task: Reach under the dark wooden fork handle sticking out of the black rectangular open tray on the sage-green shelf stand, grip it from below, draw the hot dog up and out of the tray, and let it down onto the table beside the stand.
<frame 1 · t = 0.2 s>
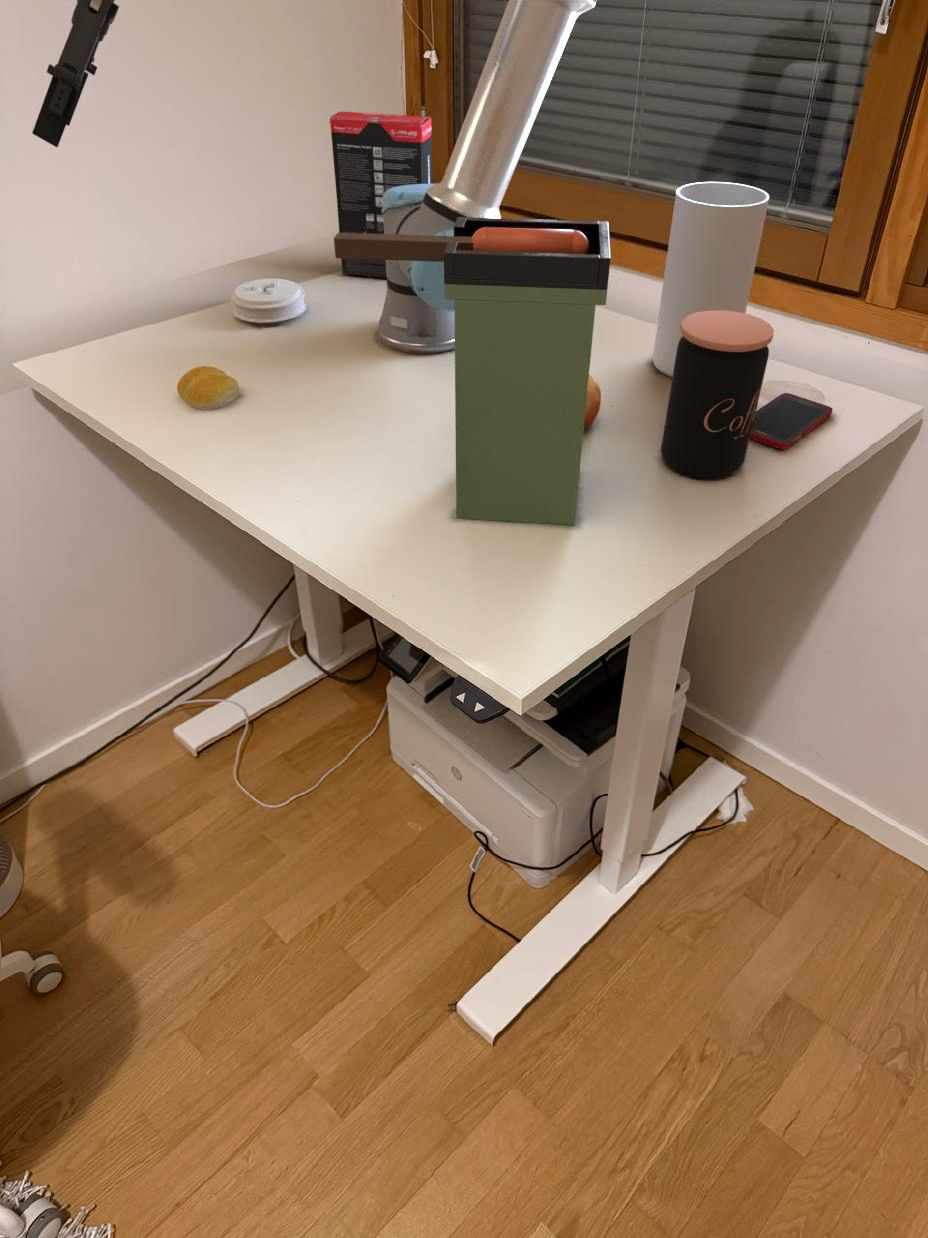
hand: (51, 129, 104), 36 cm above the table, tool tilted 35°, fingers open, 13 cm apart
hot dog: (528, 261, 90), point 28 cm above the table, touching black rectangular open tray
lid: (270, 315, 154), on the table
fruit: (569, 423, 123), on the table
bread roll: (209, 398, 129), on the table
shelf stand: (518, 495, 108), on the table
cylinder vase: (692, 367, 137), on the table
coffee jar: (700, 463, 115), on the table
black rectangular open tray: (528, 266, 91), resting on shelf stand
cell phone: (783, 424, 122), on the table
graphics card box: (389, 275, 170), on the table
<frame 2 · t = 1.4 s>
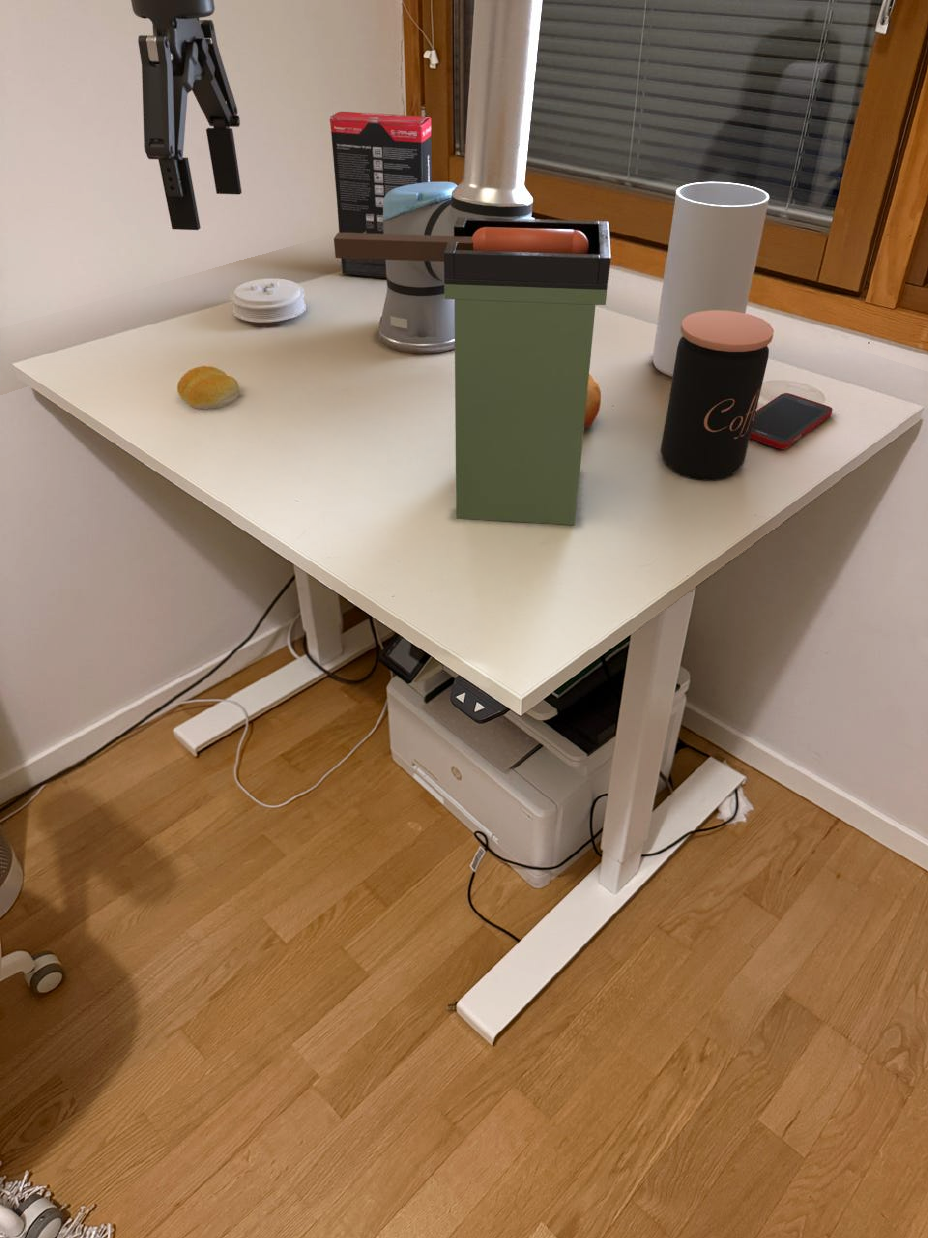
hand: (209, 210, 95), 31 cm above the table, tool pointing down, fingers open, 13 cm apart
nothing on the table moved.
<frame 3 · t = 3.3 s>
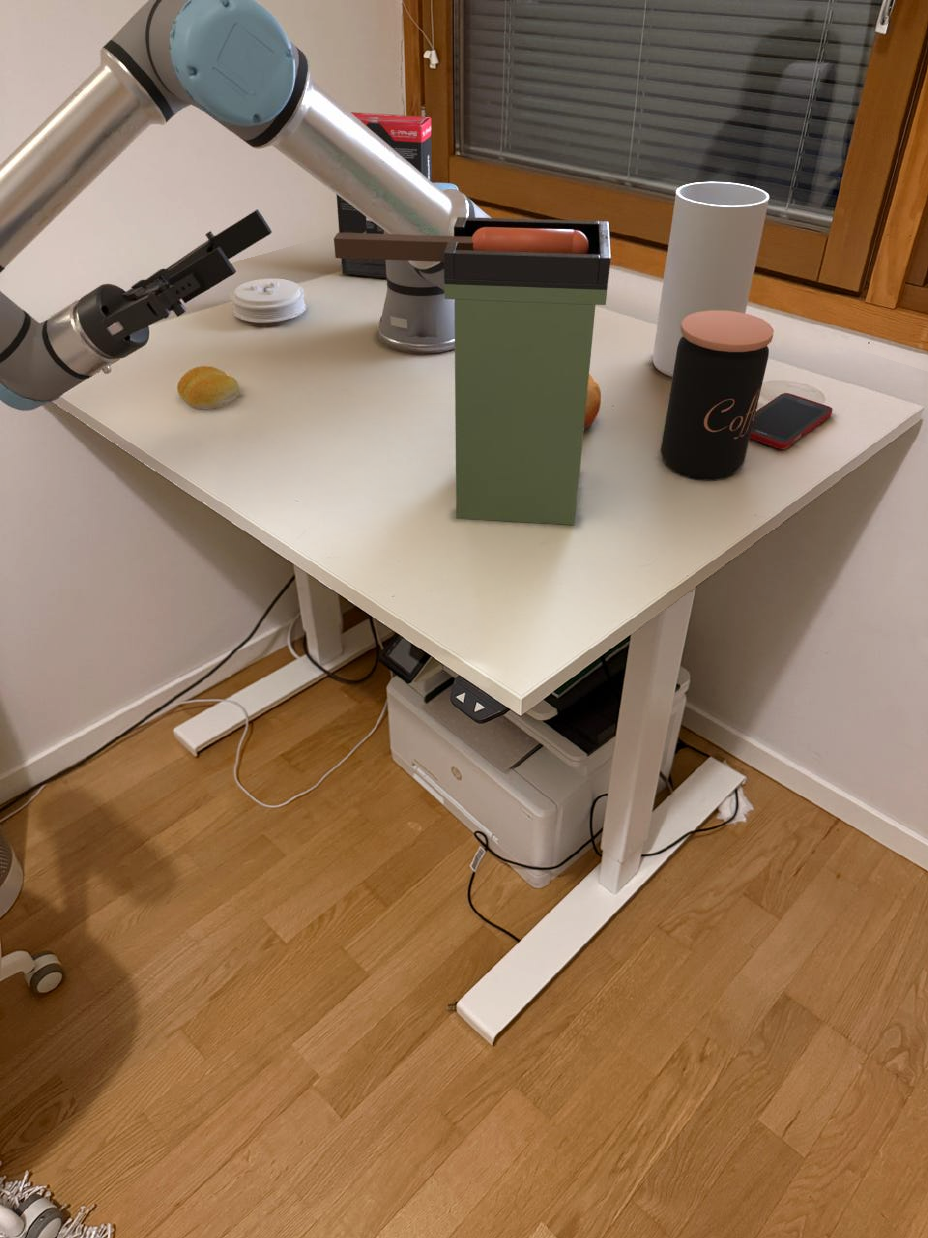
hand: (246, 239, 92), 29 cm above the table, tool pointing upward, fingers open, 13 cm apart
nothing on the table moved.
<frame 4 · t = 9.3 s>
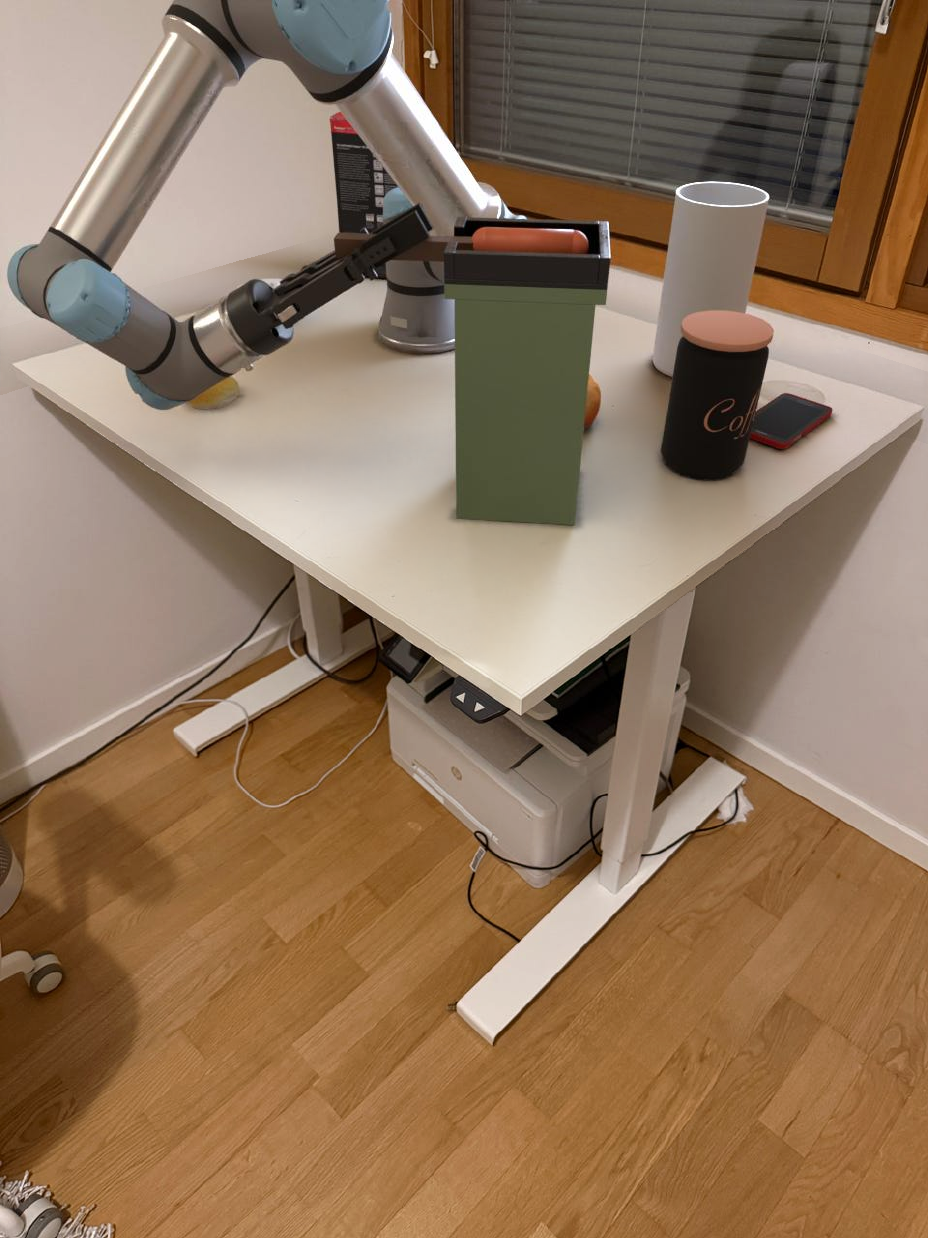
hand: (424, 219, 89), 32 cm above the table, tool pointing upward, fingers closed on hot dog, 2 cm apart
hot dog: (528, 261, 90), point 28 cm above the table, touching gripper, black rectangular open tray
everything else where it was.
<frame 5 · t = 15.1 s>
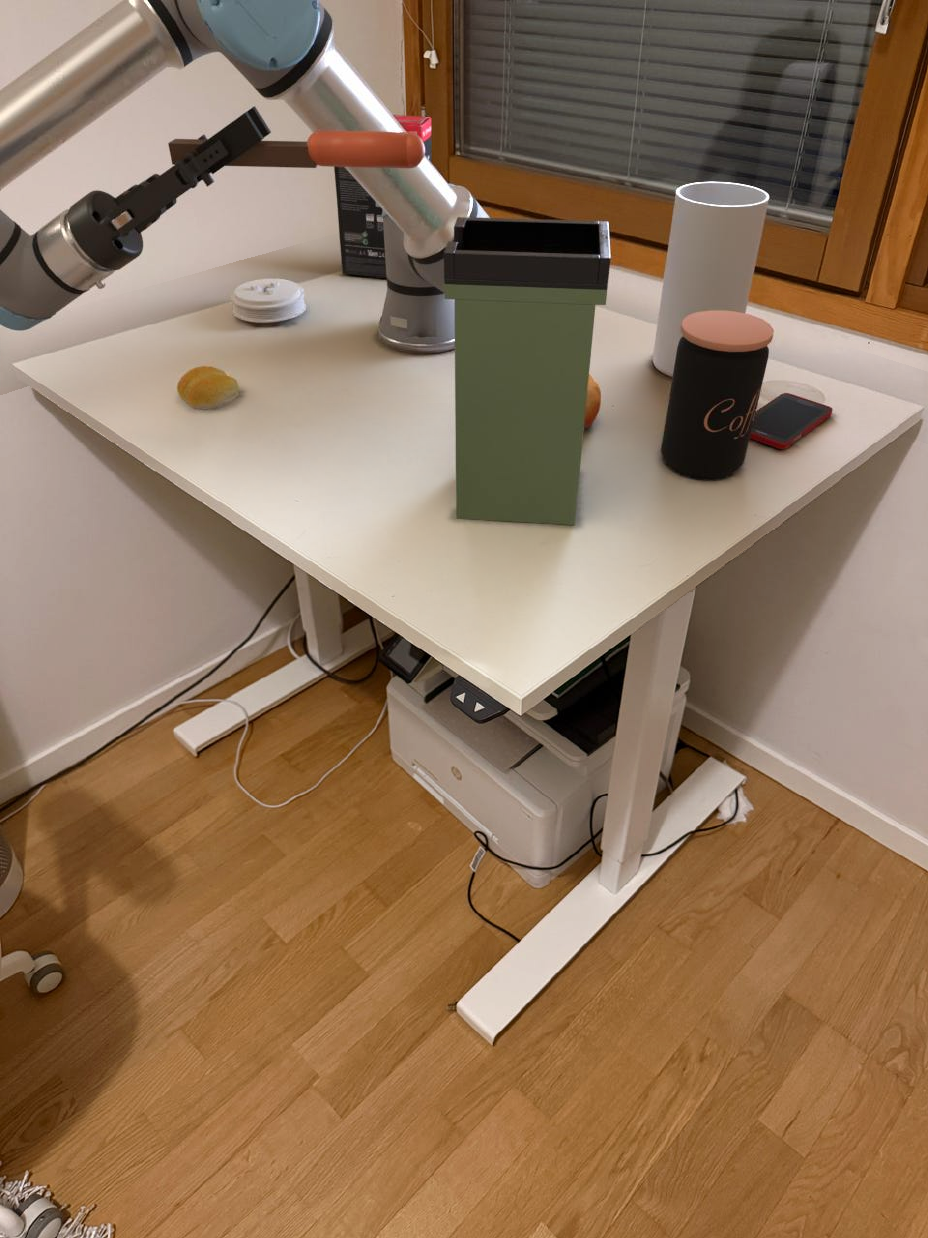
hand: (257, 122, 87), 40 cm above the table, tool pointing upward, fingers closed on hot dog, 2 cm apart
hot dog: (366, 166, 89), point 36 cm above the table, touching gripper
everything else where it was.
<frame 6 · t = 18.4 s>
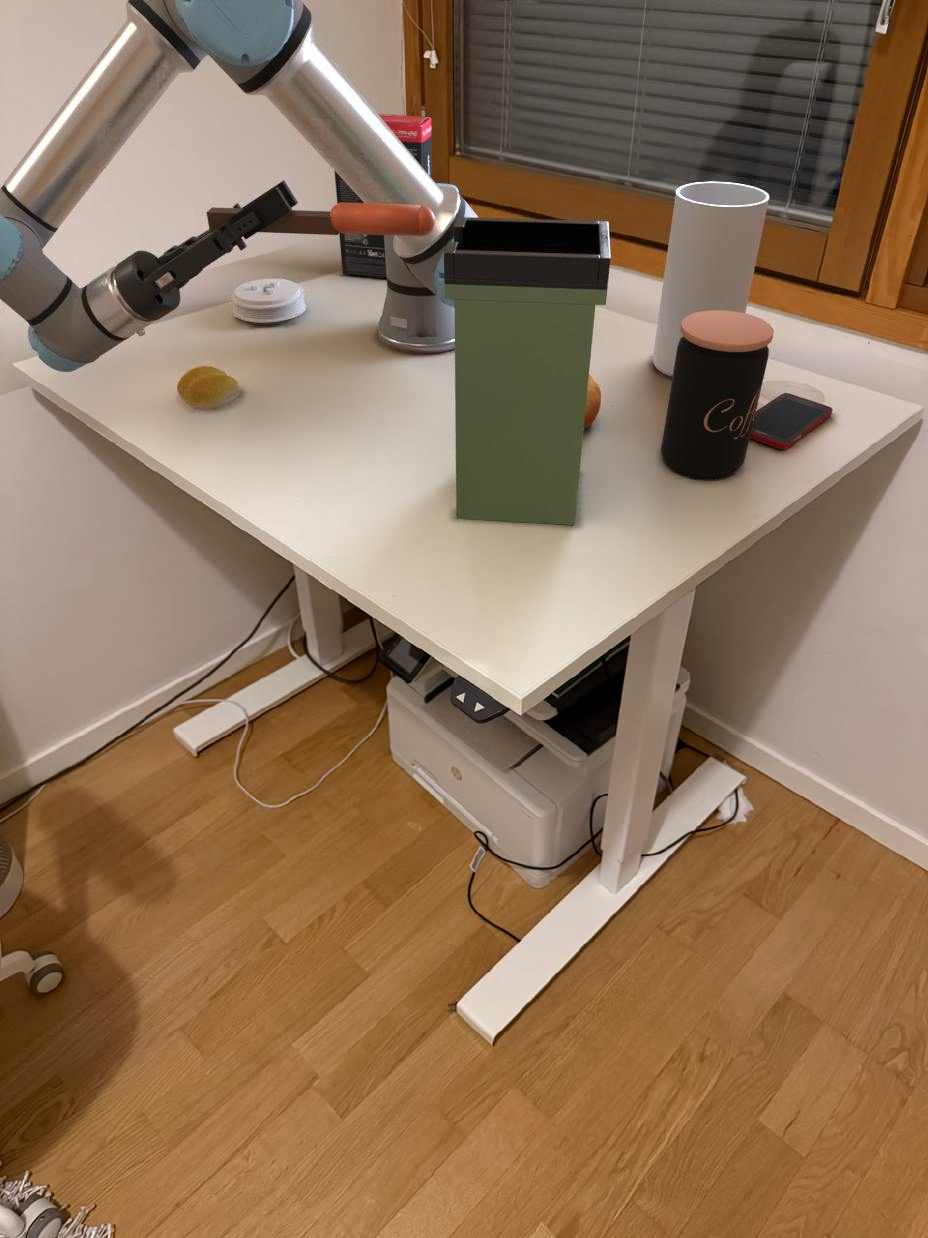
hand: (286, 195, 98), 31 cm above the table, tool pointing upward, fingers closed on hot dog, 2 cm apart
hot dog: (383, 234, 100), point 27 cm above the table, touching gripper
everything else where it was.
when the fingers open (22 cm above the table, at t = 21.2 s): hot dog drops 18 cm, on the table.
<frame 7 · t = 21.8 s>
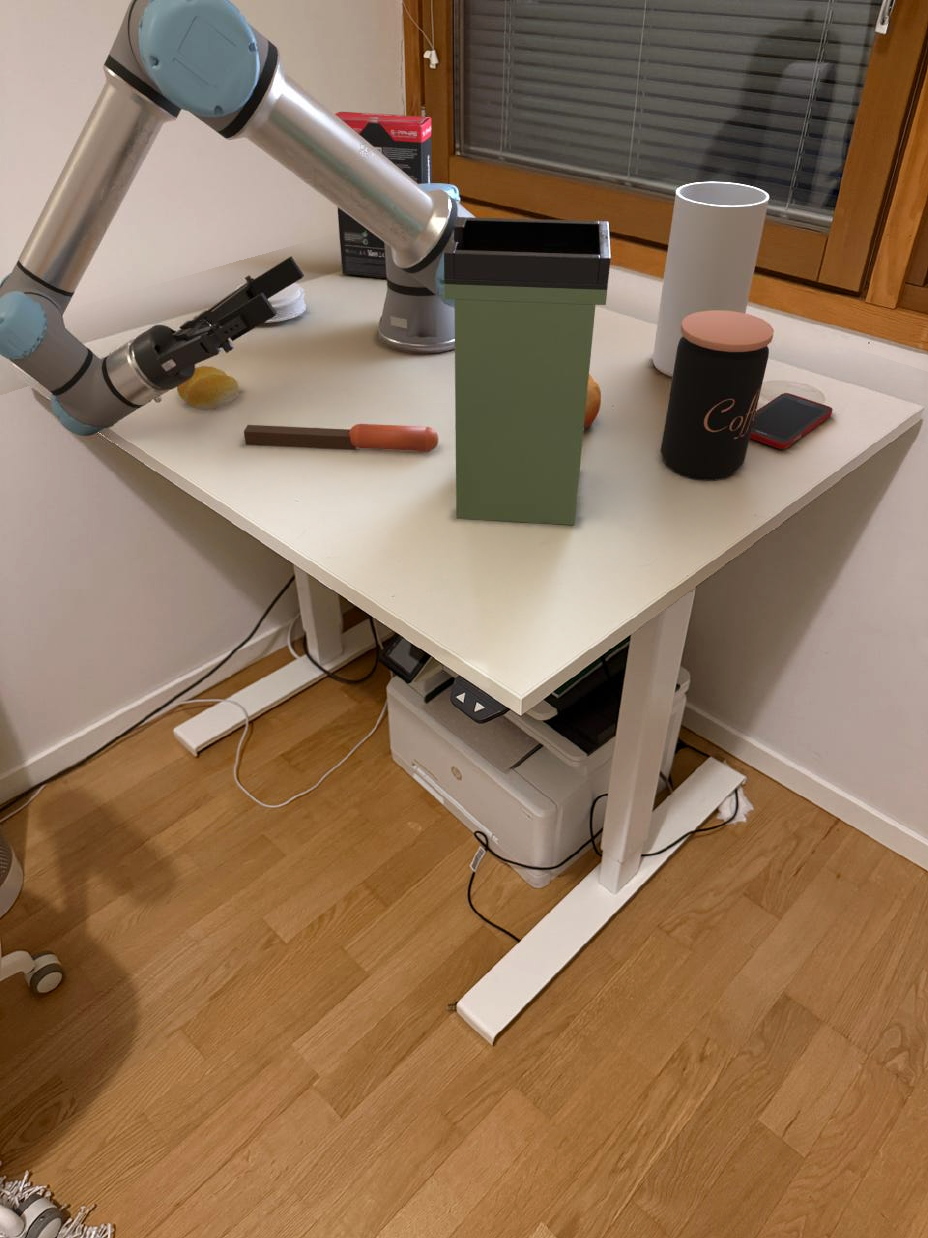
hand: (283, 284, 105), 21 cm above the table, tool pointing upward, fingers open, 12 cm apart
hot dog: (394, 448, 117), on the table
everything else where it was.
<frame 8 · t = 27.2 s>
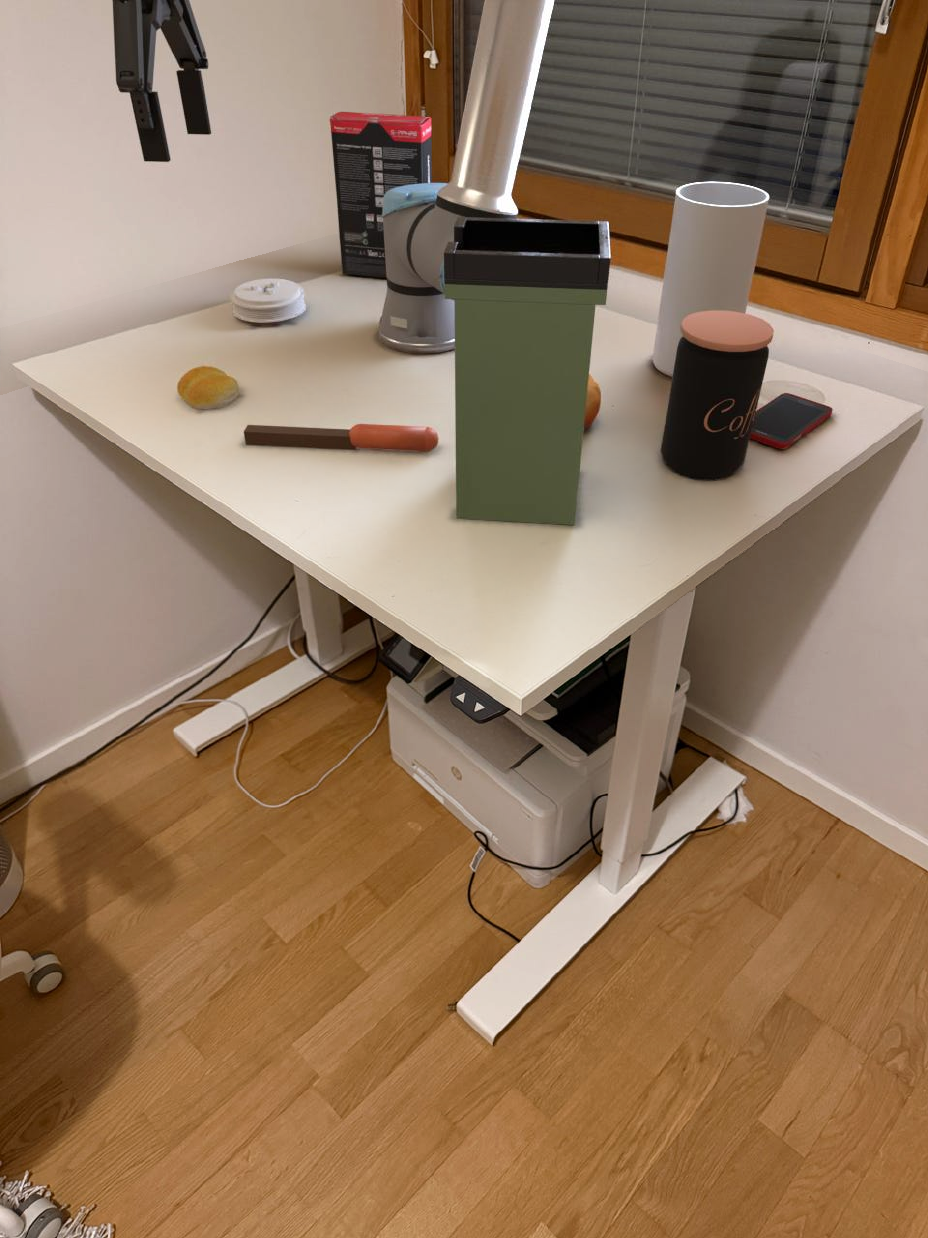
hand: (179, 146, 101), 35 cm above the table, tool pointing down, fingers open, 13 cm apart
nothing on the table moved.
at the end: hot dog inside the target area (0.7 cm from its centre), on the table; the gripper is holding nothing; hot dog moved 34.4 cm from its start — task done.
